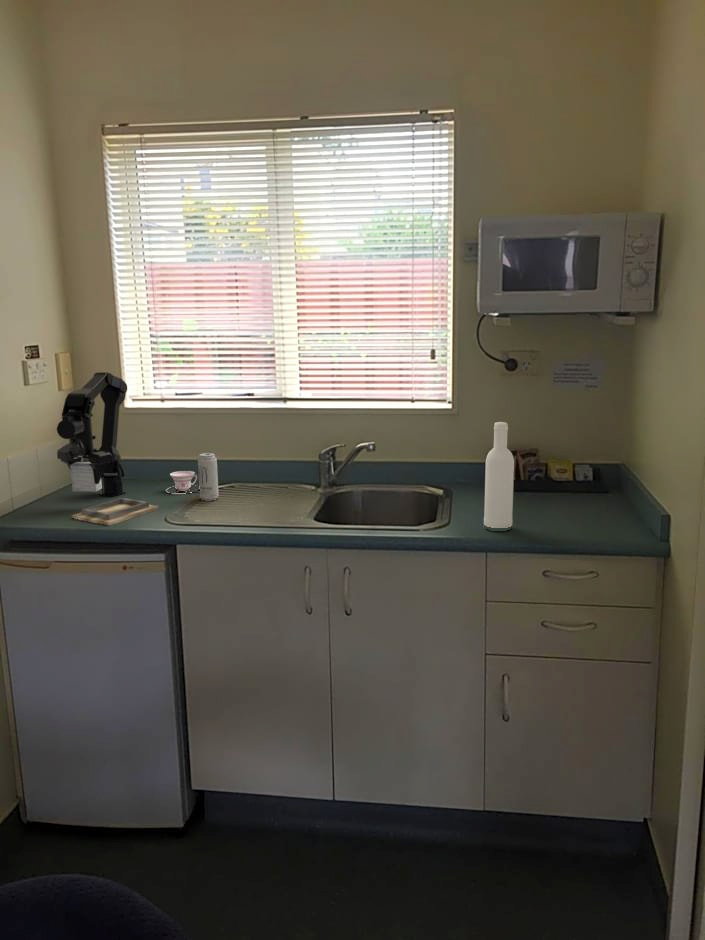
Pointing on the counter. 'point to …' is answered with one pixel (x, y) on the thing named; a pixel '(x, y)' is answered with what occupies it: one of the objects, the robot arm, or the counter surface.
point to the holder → (115, 511)
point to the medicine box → (83, 477)
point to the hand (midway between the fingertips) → (86, 482)
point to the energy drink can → (208, 476)
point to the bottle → (499, 481)
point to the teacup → (182, 480)
